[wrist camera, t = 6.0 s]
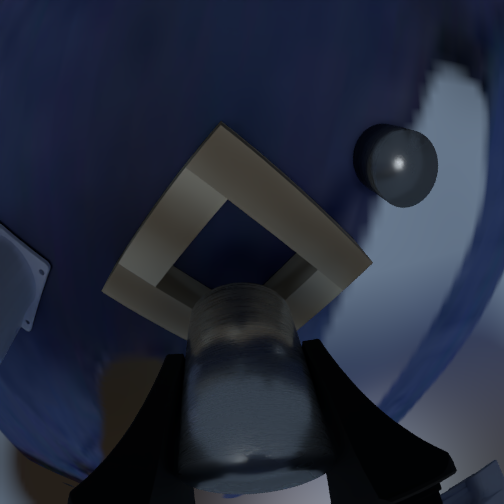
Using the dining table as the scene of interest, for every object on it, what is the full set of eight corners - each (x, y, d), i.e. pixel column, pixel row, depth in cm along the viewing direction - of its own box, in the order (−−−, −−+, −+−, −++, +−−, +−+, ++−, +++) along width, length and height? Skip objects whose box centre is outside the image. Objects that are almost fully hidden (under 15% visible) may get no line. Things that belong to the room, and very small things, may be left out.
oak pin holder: (244, 339, 22) (247, 368, 20) (115, 264, 18) (101, 291, 15) (354, 239, 19) (372, 262, 16) (221, 121, 14) (220, 124, 12)
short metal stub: (379, 203, 18) (402, 222, 15) (338, 157, 16) (360, 169, 13) (420, 159, 16) (447, 171, 14) (384, 109, 15) (412, 113, 12)
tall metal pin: (247, 369, 14) (262, 497, 8) (170, 331, 12) (151, 478, 6) (311, 315, 13) (364, 455, 6) (232, 262, 11) (247, 437, 5)
